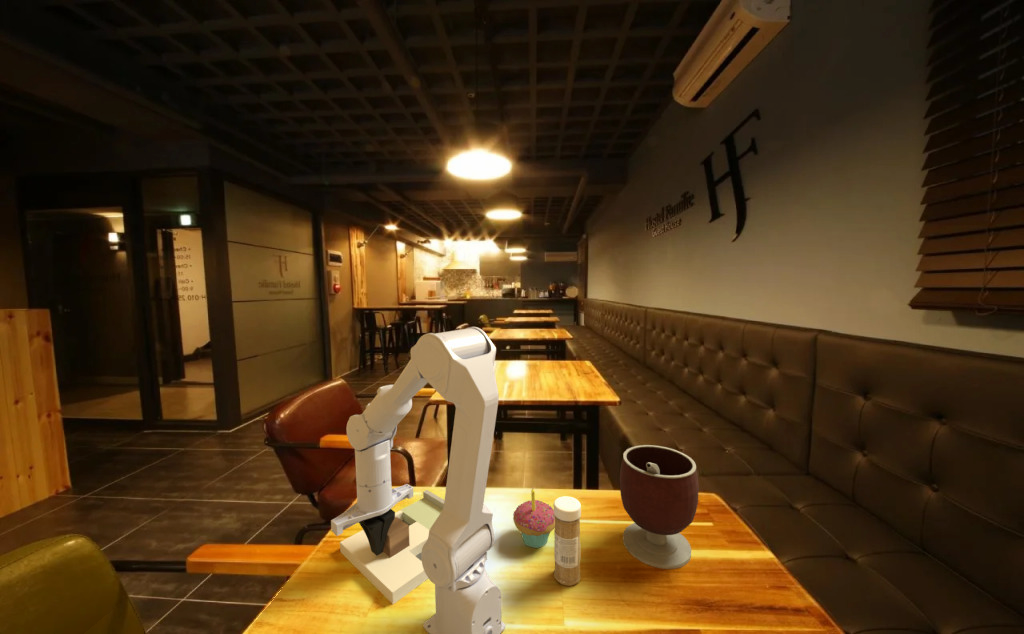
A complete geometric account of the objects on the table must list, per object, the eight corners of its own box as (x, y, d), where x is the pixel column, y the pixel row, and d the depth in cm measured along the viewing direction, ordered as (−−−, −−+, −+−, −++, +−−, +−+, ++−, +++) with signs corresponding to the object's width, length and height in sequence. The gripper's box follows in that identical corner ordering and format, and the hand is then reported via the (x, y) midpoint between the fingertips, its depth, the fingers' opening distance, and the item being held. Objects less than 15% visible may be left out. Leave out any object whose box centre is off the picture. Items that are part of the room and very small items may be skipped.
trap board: (482, 538, 74) (482, 521, 74) (393, 604, 59) (392, 583, 59) (427, 504, 86) (426, 489, 86) (340, 552, 71) (339, 534, 71)
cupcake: (554, 557, 69) (554, 495, 68) (509, 551, 71) (508, 491, 70) (557, 528, 78) (558, 472, 76) (517, 523, 79) (517, 468, 78)
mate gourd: (629, 514, 82) (631, 425, 80) (700, 537, 74) (704, 439, 73) (606, 558, 69) (608, 453, 67) (689, 591, 61) (693, 474, 60)
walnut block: (409, 545, 70) (408, 525, 69) (390, 557, 67) (389, 536, 66) (397, 536, 72) (396, 516, 72) (378, 547, 69) (377, 527, 69)
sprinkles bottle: (582, 571, 66) (583, 498, 65) (576, 590, 62) (577, 513, 60) (557, 563, 68) (558, 492, 66) (550, 582, 64) (550, 506, 62)
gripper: (397, 456, 74) (399, 522, 75) (321, 487, 63) (325, 563, 64) (419, 468, 69) (421, 537, 70) (340, 503, 58) (345, 585, 59)
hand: (377, 551), depth 67 cm, fingers closed
